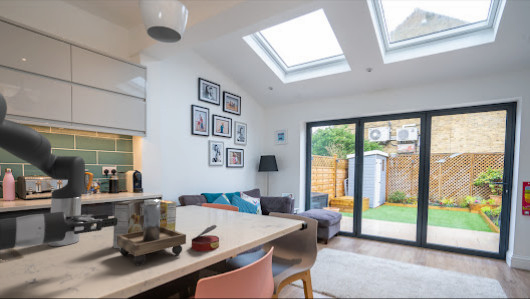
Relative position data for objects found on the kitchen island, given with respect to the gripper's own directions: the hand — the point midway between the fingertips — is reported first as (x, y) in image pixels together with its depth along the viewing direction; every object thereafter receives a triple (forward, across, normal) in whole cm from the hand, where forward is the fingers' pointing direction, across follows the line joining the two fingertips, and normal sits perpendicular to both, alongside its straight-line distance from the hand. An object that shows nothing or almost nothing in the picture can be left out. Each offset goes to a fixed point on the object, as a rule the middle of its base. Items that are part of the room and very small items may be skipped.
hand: (112, 219), depth 76 cm
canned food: (+29, -6, +14) cm, 33 cm away
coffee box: (+11, +17, +14) cm, 24 cm away
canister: (+12, 0, +8) cm, 15 cm away
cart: (+12, 0, +14) cm, 18 cm away
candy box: (+23, +13, +14) cm, 30 cm away
